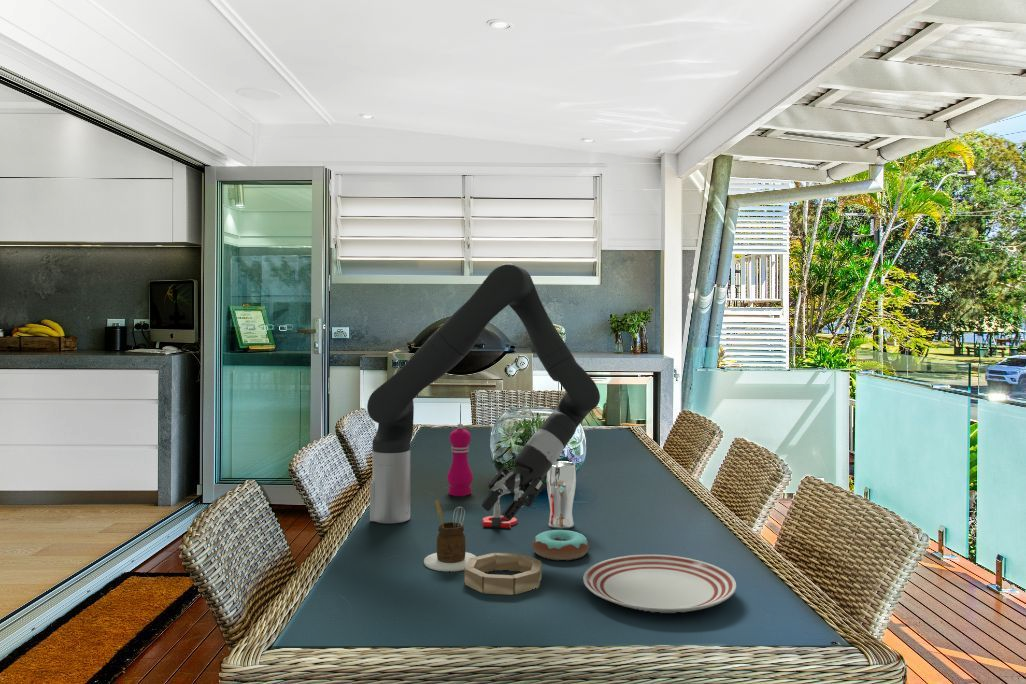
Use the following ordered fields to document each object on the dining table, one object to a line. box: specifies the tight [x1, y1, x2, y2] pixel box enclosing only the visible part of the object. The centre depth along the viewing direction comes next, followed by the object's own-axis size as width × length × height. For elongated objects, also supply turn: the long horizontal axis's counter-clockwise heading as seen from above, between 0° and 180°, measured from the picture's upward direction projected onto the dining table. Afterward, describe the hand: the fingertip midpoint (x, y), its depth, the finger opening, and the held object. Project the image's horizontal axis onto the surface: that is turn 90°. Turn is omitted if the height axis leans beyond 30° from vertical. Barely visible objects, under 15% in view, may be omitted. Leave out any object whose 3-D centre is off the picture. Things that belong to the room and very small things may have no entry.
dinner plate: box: [582, 554, 737, 614], centre depth 139 cm, size 28×27×3 cm
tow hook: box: [482, 473, 518, 529], centre depth 184 cm, size 8×13×9 cm
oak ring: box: [463, 552, 543, 596], centre depth 145 cm, size 14×14×3 cm
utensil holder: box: [434, 499, 467, 563], centre depth 155 cm, size 6×6×12 cm
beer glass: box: [546, 460, 577, 530], centre depth 182 cm, size 7×7×15 cm
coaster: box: [423, 551, 478, 572], centre depth 155 cm, size 11×11×1 cm
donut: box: [532, 529, 590, 561], centre depth 162 cm, size 12×12×4 cm
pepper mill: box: [446, 423, 474, 497], centre depth 214 cm, size 7×7×20 cm
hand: (494, 513), depth 161 cm, fingers open, 8 cm apart
